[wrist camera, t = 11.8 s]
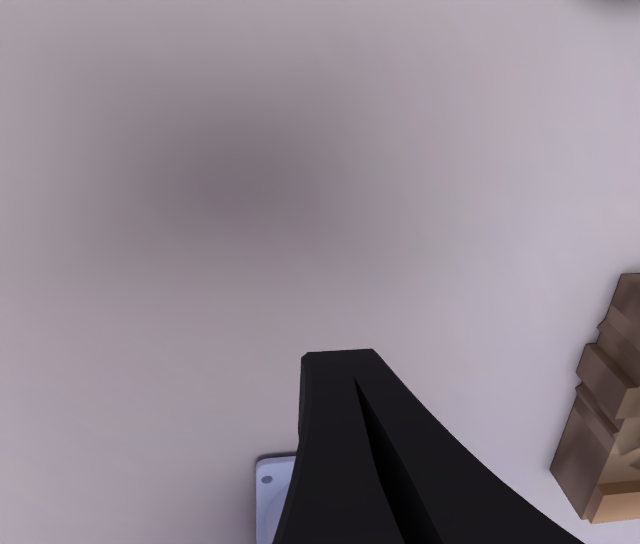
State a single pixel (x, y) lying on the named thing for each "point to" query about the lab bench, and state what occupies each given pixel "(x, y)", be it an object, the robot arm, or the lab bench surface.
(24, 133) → the lab bench surface
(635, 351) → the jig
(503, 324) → the lab bench surface
